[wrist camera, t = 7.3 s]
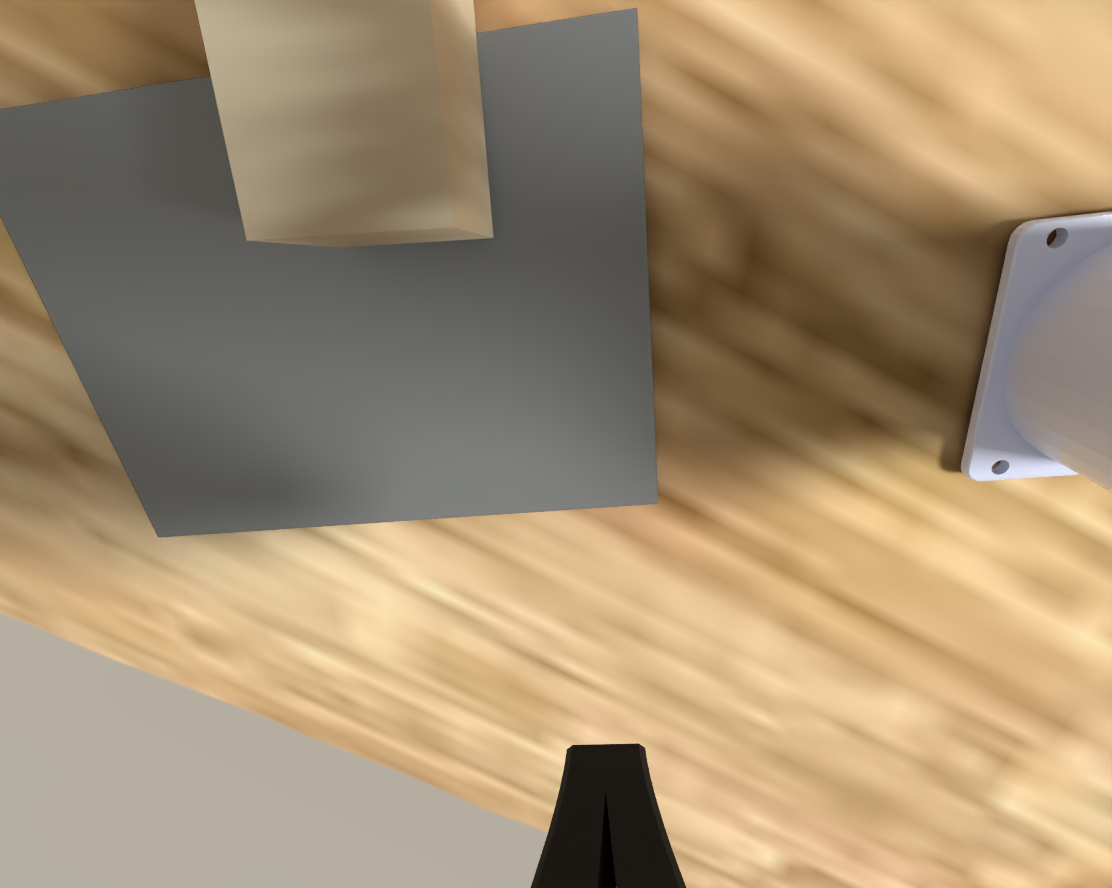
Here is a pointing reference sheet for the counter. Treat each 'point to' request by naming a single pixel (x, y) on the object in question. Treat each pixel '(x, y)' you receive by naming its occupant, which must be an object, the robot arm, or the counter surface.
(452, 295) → the mat
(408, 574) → the counter surface
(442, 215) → the tall block
